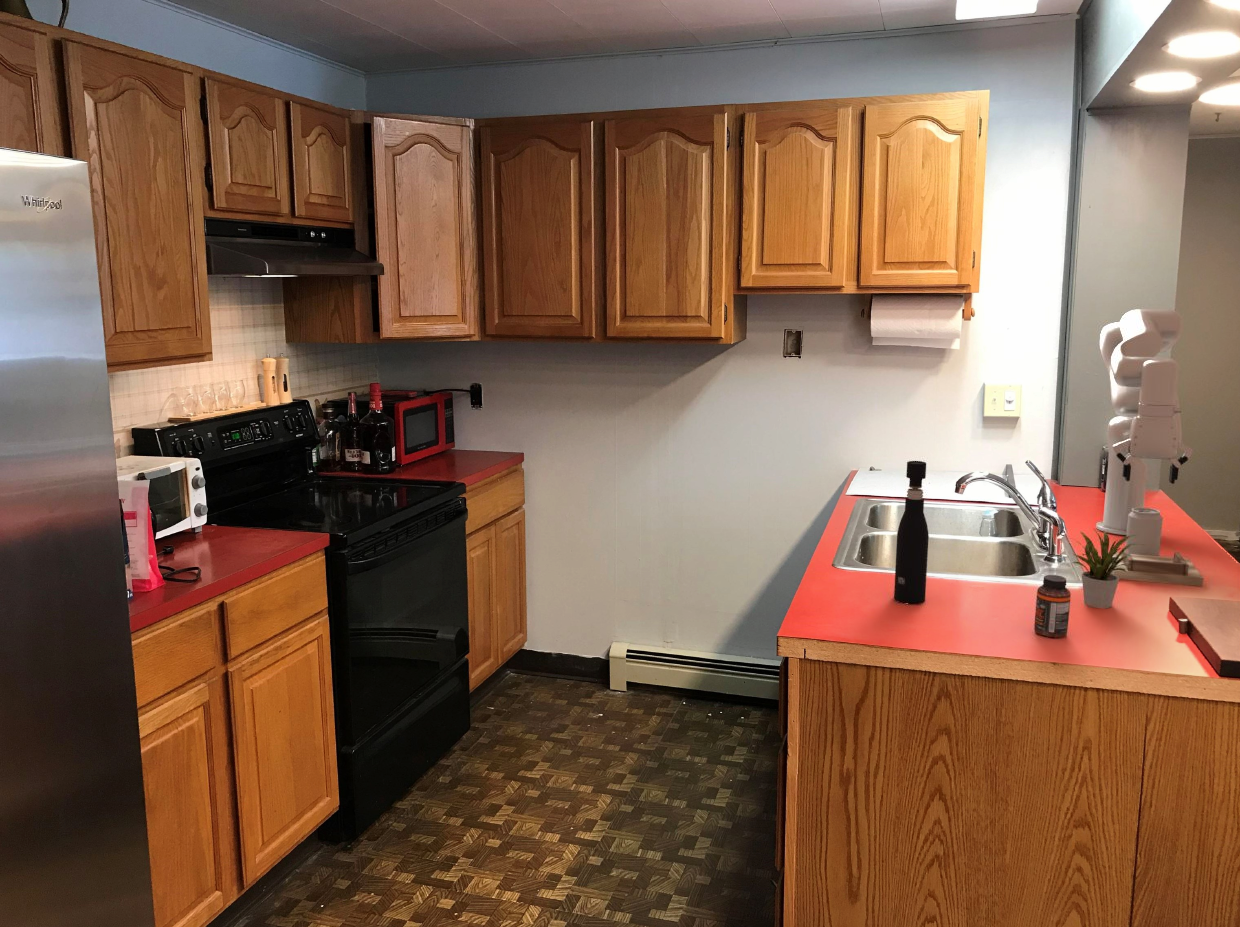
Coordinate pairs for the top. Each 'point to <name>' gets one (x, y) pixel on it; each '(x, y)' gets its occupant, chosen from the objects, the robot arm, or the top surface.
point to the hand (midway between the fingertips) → (1149, 481)
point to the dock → (1158, 569)
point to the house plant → (1101, 571)
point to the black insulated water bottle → (912, 541)
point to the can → (1144, 531)
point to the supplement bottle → (1052, 607)
